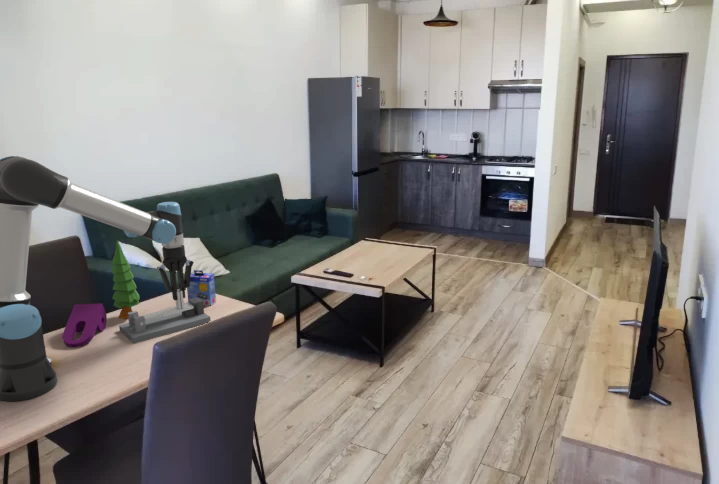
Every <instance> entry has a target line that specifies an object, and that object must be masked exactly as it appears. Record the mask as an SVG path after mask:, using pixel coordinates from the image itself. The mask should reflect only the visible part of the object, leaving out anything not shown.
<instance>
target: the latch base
mask: <svg viewBox="0 0 719 484" xmlns="http://www.w3.org/2000/svg"><path fill="white" fill-rule="evenodd" d="M189 302H191V303H192V305H193V308H194V309H190V310H186V311H183V312H179V313H175V314H172V315H168V316H164V317H161V318H157V319H153V320H150V321H146V322H145V317H144V316H142V315H140V316H141V317H138V316H139V311H138V310H135V311H133V310H132V311H133V312H129V313H128V319H127V320H128V322H127V323H124V324H123V323H122V324H120V325H119V326H118V328H119V332H121V333H122V334H123V335H124V336H125V337H126V338H127V339H128V340H129V341H130V342H131V343H132V344H136V343H140V342H143V341H147V340H150V339H154V338H157V337H161V336H165V335H169V334H172V333H176V332H179V331H182V330H187V329H189V328H193V327H197V326H200V325H205V324H208V323H210V322H209V321H212V320H211V316H210V315H208V313H207V314H206V313H205V309H204V308H205V307H204V306H203V301H202V300H201V299H199V298H193V299H189ZM134 316H136V317H137V318H134V321H133V320H132V318H133V317H134ZM207 322H208V323H207ZM204 323H205V324H204Z"/></svg>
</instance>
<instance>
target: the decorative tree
mask: <svg viewBox="0 0 719 484" xmlns="http://www.w3.org/2000/svg"><path fill="white" fill-rule="evenodd" d="M115 246H116V247H115V251H114V256H113V259H112V261H111V263H112V269H111V274H113V278H112V282H114V283H113V285H112V289H111V290H112V291H114V293H113V294H112V298H111V299H112V300H114V302H113V307H115V308H117V309H121V310H120V312H119V315H118V319H121V320H124V321H125V320H129V319H128V313H129V312H133V308H132V307H134V306H138V305H139V304H140V301H139V300H140V294H139V293H138V291H137V290H136V289H138V287H137V285H136V283H135V281H134V278H135V277H134V274H133V272H132V271H131V265H130V264H129V262H128V260H127V258H126V256H125V254H124V251H123V249H122V247H121V244H120V242H119V240H116V245H115Z"/></svg>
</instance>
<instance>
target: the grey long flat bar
mask: <svg viewBox="0 0 719 484" xmlns="http://www.w3.org/2000/svg"><path fill="white" fill-rule="evenodd" d="M190 309H194V308H193V305H191V304H190V303H188V302H187V303H184V308H181V309H179V308H177V307H176V306H173V307H168V308H165V309H162V310H161V309H160V310H157V311H154V312H149V313H145V314H142V315H138V317H141V316H144V317H145V322H146V321H150V320H153V319H157V318H161V317H164V316H168V315H172V314H175V313H179V312H183V311H186V310H190ZM134 318H137V317H136V316H134V317H133V318H132V320H133V321H134Z"/></svg>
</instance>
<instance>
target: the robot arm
mask: <svg viewBox="0 0 719 484" xmlns="http://www.w3.org/2000/svg"><path fill="white" fill-rule="evenodd" d="M39 205H40V206H44V207H47V208H50V209H51V210H52V209H53V210H55V209H56V210H57V209H59V208H60V209H64V210H66V211H70V212H71V213H72V212H73V213H75V214H77V215H80V216H83V217H86V218H88V219H92V220H95V221H97V222H101V223H103V224H106V225H109V226H111V227H113V228H114V227H115V228H118V229H120V230H122V231H123V233H124V235H126V237H128V238H137V237H142V238H145V239H148V240H151V241H154V242H156V243H158V244H161V246H162V248H161V251H162V257H163V261H162V264H161V265H160V266H157V267H156V270H157V271H158V272H159V274H160V276H161V279H162V282H163V284H164V287H165V290H167V291H168V292H170V293H171V294H172V299H173V301H175V307H177V308H179V309H181V308H184V304H185V303H184V299H186V291H187V287H189V286H190V277H191V273H192V267H193V266H194V261H193V260H191V259H188V258H187V256H186V249H185V248H186V247H185V245H184V243H185V239H184V231H183V224H182V223H183V222H182V211H181V207H180V204H179V203H178V202H176V201H163V202H160V203H158V204H157V205H156V209H155V210H152V211H143V210H141V209H139V208H136V207H133V206H131V205H128V204H126V203H123V202H121V201H118V200H115V199H113V198H111V197H107V195H103V194H100V193H98V192H95V191H92V190H90V189H87V188H85V187H83V186H80V185H78V184H76V183H72V182H71V181H70V178H69V177H67V176H65V175H63V174H59V173H57V172H55V171H54V170H53V169H50V168H48V167H46V166H44V165H43V164H41V163H39V162H37V161H35V160H33V159H28V158H26V157H23V156H22V157H21V156H18V155H16V156H14V155H10V156H5V157H2V158H0V401H3V402H4V401H5V402H19V401H20V402H21V401H24V400H30V399H33V398H36V397H39V396H41V395H44V394H46V393H47V392H49V391H51V390H52V389H54V388H55V387H56V385H57V384H58V375H57V372H56V370H55V368H54V367H53V366H52V363H51V362H50V360H49V359H48V357H47V350H46V345H45V338H44V332H43V326H42V325H43V324H42V322H43V321H42V317H41V314H40V311H39V310H38V308H37V307H35V306H33V305H31V298H32V297H31V294H30V293H29V292H28V291H26V286H27V274H28V273H27V272H28V262H29V253H30V252H29V250H30V249H29V248H30V239H31V225H32V216H33V215H32V214H33V211H34V210H36V209H37V208H38V207H39ZM184 266H185V268H184ZM184 269H185V270H184ZM166 270H168V272H169V277H168V275H167V273H166ZM176 275H177V278H176ZM177 283H178V284H177ZM177 285H178V286H177ZM178 288H179V289H178Z"/></svg>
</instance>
